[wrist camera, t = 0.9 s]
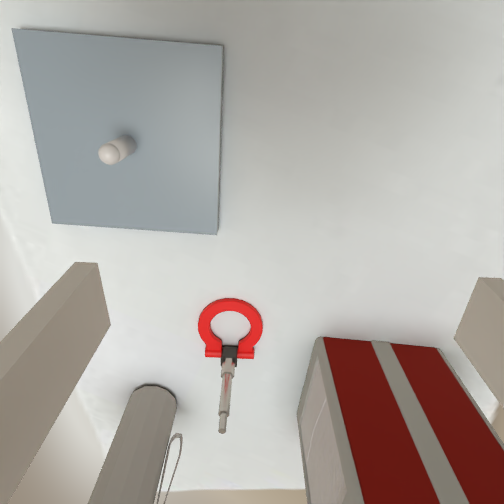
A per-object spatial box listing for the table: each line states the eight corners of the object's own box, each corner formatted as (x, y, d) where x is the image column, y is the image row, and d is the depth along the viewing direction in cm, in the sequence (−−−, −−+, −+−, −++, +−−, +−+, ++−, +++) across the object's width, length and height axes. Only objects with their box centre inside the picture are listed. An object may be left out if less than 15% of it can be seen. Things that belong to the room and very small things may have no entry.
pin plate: (22, 30, 31) (-37, 18, 24) (223, 46, 31) (215, 39, 25) (59, 218, 39) (22, 245, 33) (218, 229, 39) (211, 258, 33)
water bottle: (127, 412, 53) (35, 651, 31) (132, 376, 50) (33, 617, 28) (186, 422, 54) (137, 661, 32) (194, 388, 51) (146, 630, 29)
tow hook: (198, 294, 44) (199, 351, 48) (178, 366, 32) (181, 435, 36) (264, 297, 44) (260, 354, 48) (268, 370, 32) (261, 438, 36)
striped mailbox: (405, 426, 54) (523, 705, 30) (295, 416, 54) (326, 694, 30) (443, 347, 47) (641, 633, 23) (315, 334, 46) (380, 616, 22)
